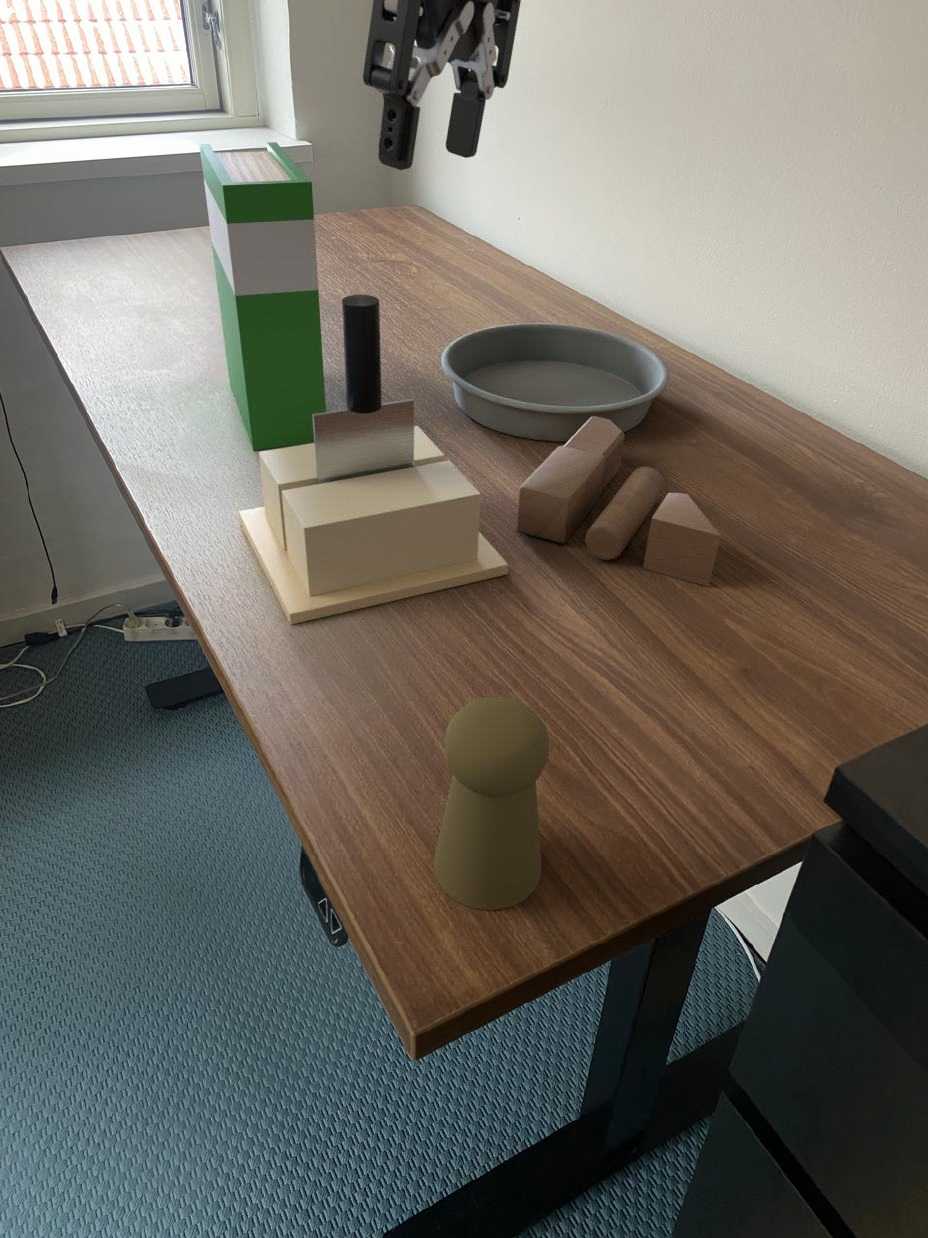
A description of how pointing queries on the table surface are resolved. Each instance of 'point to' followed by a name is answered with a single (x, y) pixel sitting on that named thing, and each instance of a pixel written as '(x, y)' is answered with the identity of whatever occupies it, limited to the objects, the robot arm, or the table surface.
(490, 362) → the cake pan
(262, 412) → the hardback book
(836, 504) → the table surface
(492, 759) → the chess pawn figurine
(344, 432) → the knife
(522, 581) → the table surface
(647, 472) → the wooden block set
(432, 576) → the slotted fixture
